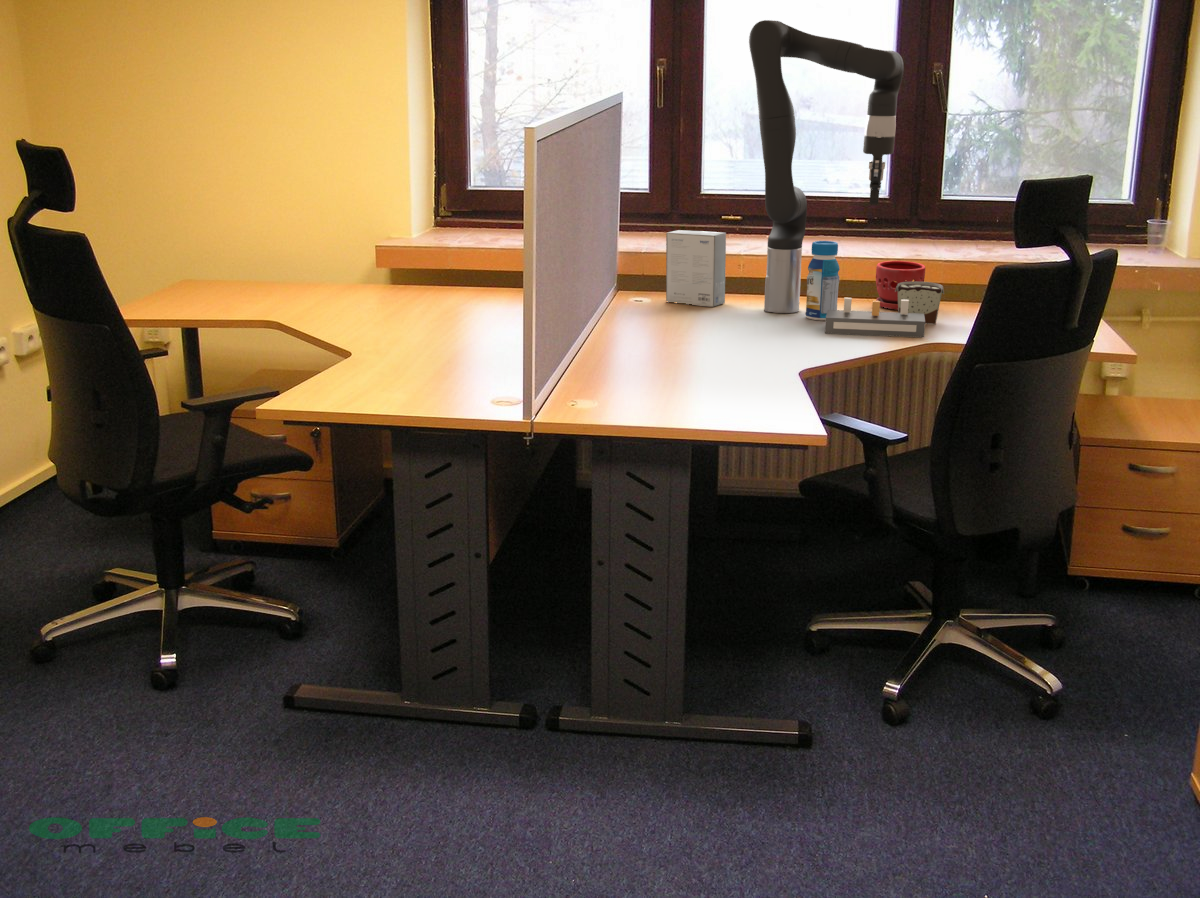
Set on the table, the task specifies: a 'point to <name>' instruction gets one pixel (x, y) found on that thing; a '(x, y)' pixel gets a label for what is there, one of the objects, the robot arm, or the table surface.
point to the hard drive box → (695, 267)
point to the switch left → (847, 304)
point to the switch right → (904, 307)
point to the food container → (921, 298)
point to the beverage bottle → (822, 280)
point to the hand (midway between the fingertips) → (873, 204)
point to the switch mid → (875, 308)
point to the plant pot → (895, 279)
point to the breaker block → (875, 323)
